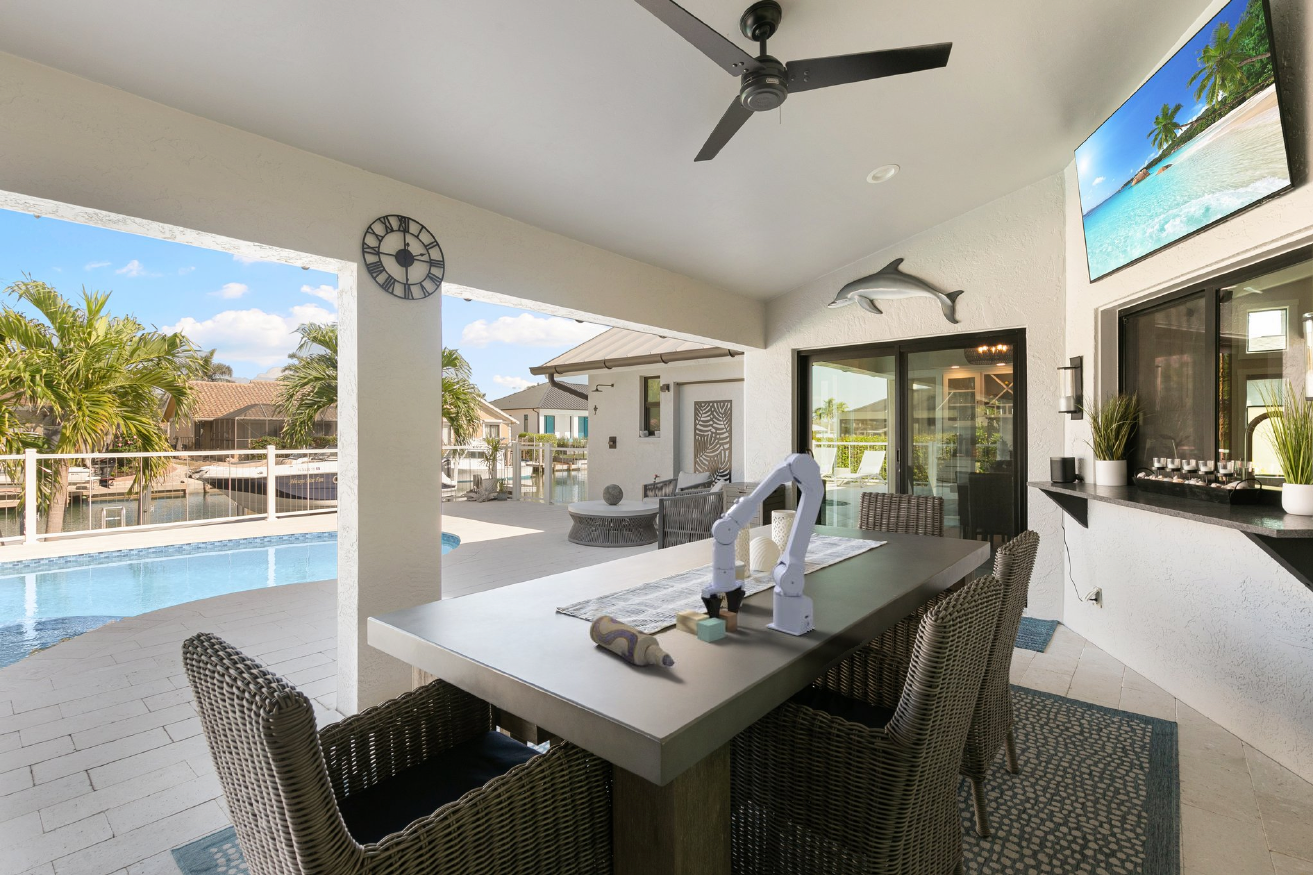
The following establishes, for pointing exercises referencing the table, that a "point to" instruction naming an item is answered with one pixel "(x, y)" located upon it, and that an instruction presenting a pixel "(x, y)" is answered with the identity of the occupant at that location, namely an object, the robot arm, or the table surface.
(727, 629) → the walnut block
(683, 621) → the maple block
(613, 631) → the decorative bottle
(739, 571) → the coffee cup
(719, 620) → the teal block
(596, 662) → the table surface
